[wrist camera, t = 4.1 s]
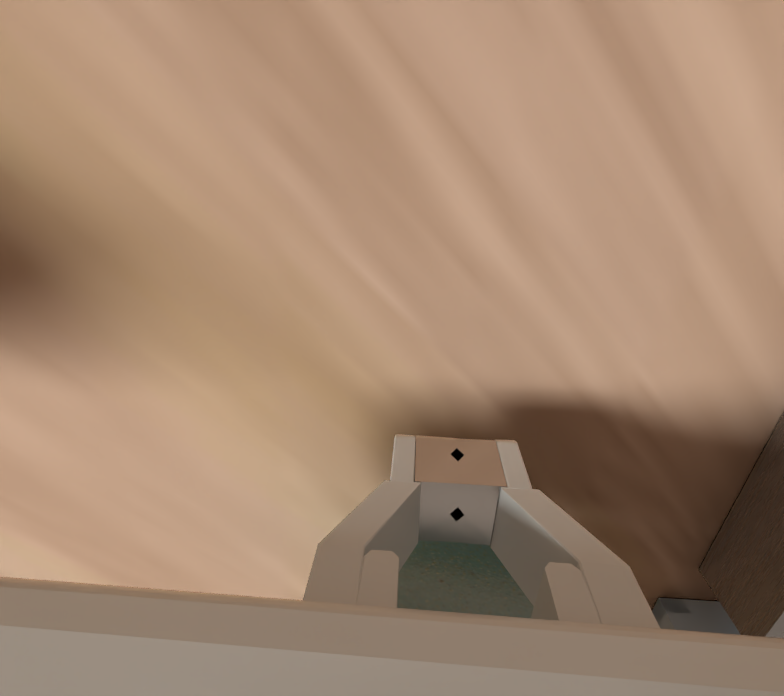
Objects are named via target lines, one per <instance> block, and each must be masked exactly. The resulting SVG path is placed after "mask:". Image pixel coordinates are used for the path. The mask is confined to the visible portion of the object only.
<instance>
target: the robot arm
mask: <svg viewBox="0 0 784 696" xmlns="http://www.w3.org/2000/svg"><path fill="white" fill-rule="evenodd" d="M418 541H439V542H458V543H469V544H479V545H489V546H491V549H492V550H493V551H494V553H495V554H496V556H497V557H498V558H499V560H500V561H501V562H502V564H503V565H504V566H505V568H506V569H507V571H508V572H509V573H510V575H511V576H512V577H513V579H514V580H515V582H516V583H517V584H518V586H519V587H520V588H521V590H522V591H523V592H524V594H525V595H526V597H527V598H528V599H529V601H530V602H531V603H532V605H533V606H534V608H533V612H532V615H531V618H520V617H507V616H494V615H482V614H469V613H456V612H444V611H431V610H418V609H406V608H398V576H399V571H400V569H401V568H402V566H403V565H404V563H405V562H406V560H407V559H408V557H409V556H410V554H411V553H412V551H413V550H414V548H415V547H416V545H417V544H418ZM0 696H784V638H775V637H762V636H749V635H737V634H724V633H712V632H699V631H686V630H673V629H661V628H660V627H659V625H658V623H657V621H656V619H655V617H654V615H653V613H652V611H651V608H650V606H649V604H648V602H647V600H646V598H645V596H644V594H643V592H642V590H641V588H640V586H639V584H638V582H637V580H636V578H635V576H634V574H633V572H632V570H631V568H630V566H629V565H627V564H626V563H625V562H624V561H623V560H622V559H620V558H619V557H618V556H617V555H616V554H614V553H613V552H612V551H611V550H610V549H609V548H607V547H606V546H605V545H604V544H603V543H602V542H600V541H599V540H598V539H597V538H596V537H594V536H593V535H592V534H591V533H590V532H589V531H587V530H586V529H585V528H584V527H583V526H581V525H580V524H579V523H578V522H577V521H576V520H574V519H573V518H572V517H571V516H570V515H569V514H567V513H566V512H565V511H564V510H563V509H561V508H560V507H559V506H558V505H557V504H556V503H554V502H553V501H552V500H551V499H550V498H549V497H547V496H546V495H545V494H544V493H543V492H541V491H540V490H539V489H533V488H532V485H531V482H530V479H529V476H528V473H527V470H526V467H525V464H524V461H523V458H522V455H521V452H520V449H519V446H518V443H517V442H516V441H515V440H482V439H461V438H448V437H434V436H421V435H416V442H415V435H403V434H396V435H395V438H394V447H393V457H392V467H391V476H390V481H388V480H384V481H383V482H382V483H381V484H380V485H379V486H378V487H377V488H376V489H375V490H374V491H373V492H372V493H371V494H369V495H368V496H367V497H366V498H365V499H364V500H363V501H362V502H361V503H360V504H359V505H358V506H357V507H356V508H355V509H354V510H353V511H352V512H351V513H350V514H349V515H348V516H347V517H346V518H345V519H344V520H343V521H342V522H341V523H339V524H338V525H337V526H336V527H335V528H334V529H333V530H332V531H331V532H330V533H329V534H328V535H327V536H326V537H325V538H324V539H323V540H322V541H321V542H320V543H319V544H318V547H317V550H316V554H315V558H314V561H313V565H312V569H311V572H310V576H309V580H308V583H307V587H306V590H305V594H304V598H303V600H291V599H278V598H265V597H253V596H240V595H227V594H214V593H202V592H189V591H176V590H163V589H151V588H138V587H125V586H112V585H99V584H87V583H74V582H61V581H48V580H36V579H23V578H10V577H0Z"/></svg>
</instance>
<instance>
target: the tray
mask: <svg viewBox="0 0 784 696" xmlns="http://www.w3.org/2000/svg"><path fill="white" fill-rule="evenodd" d="M652 613H653V615H654V617H655V619H656V621H657V623H658V625H659V627H660V628H661V629H673V630H686V631H699V632H712V633H724V634H737V635H741V634H740V633H739V631H738V630H737V628H736V627H735V625H734V623H733V622H732V620H731V619H730V617H729V616H728V614H727V613H726V611H725V610H724V608H723V606H722V605H721V603H720V602H719V601H703V600H687V599H672V598H658V600H657V602H656V604H655V606H654V608H653V610H652Z"/></svg>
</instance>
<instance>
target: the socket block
mask: <svg viewBox="0 0 784 696" xmlns="http://www.w3.org/2000/svg"><path fill="white" fill-rule="evenodd" d="M699 571H700V573H701V574H702V576H703V577H704V579H705V580H706V582H707V583H708V585H709V586H710V588H711V590H712V591H713V593H714V594H715V596H716V597H717V599H718V600H719V602H720V603H721V605H722V606H723V608H724V610H725V611H726V613H727V614H728V616H729V617H730V619H731V620H732V622H733V623H734V625H735V627H736V628H737V630H738V631H739V633H740V634H741V635H749V636H762V637H775V638H784V413H783V415H782V417H781V419H780V420H779V422H778V424H777V426H776V428H775V430H774V432H773V433H772V435H771V437H770V439H769V441H768V443H767V444H766V446H765V448H764V450H763V452H762V454H761V456H760V457H759V459H758V461H757V463H756V465H755V467H754V468H753V470H752V472H751V474H750V476H749V478H748V480H747V481H746V483H745V485H744V487H743V489H742V491H741V492H740V494H739V496H738V498H737V500H736V502H735V504H734V505H733V507H732V509H731V511H730V513H729V515H728V516H727V518H726V520H725V522H724V524H723V526H722V528H721V529H720V531H719V533H718V535H717V537H716V539H715V540H714V542H713V544H712V546H711V548H710V550H709V552H708V553H707V555H706V557H705V559H704V561H703V563H702V565H701V566H700V568H699Z"/></svg>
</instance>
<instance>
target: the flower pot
mask: <svg viewBox="0 0 784 696" xmlns="http://www.w3.org/2000/svg"><path fill="white" fill-rule="evenodd" d="M398 608H406V609H418V610H431V611H444V612H456V613H469V614H482V615H494V616H507V617H520V618H531V615H532V612H533V608H534V606H533V605H532V603H531V602H530V601H529V599H528V598H527V597H526V595H525V594H524V592H523V591H522V590H521V588H520V587H519V586H518V584H517V583H516V582H515V580H514V579H513V577H512V576H511V575H510V573H509V572H508V571H507V569H506V568H505V566H504V565H503V564H502V562H501V561H500V560H499V558H498V557H497V556H496V554H495V553H494V551H493V550H492V549H491V546H489V545H479V544H469V543H458V542H439V541H418V544H417V545H416V547H415V548H414V550H413V551H412V553H411V554H410V556H409V557H408V559H407V560H406V562H405V563H404V565H403V566H402V568H401V569H400V571H399V576H398Z"/></svg>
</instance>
